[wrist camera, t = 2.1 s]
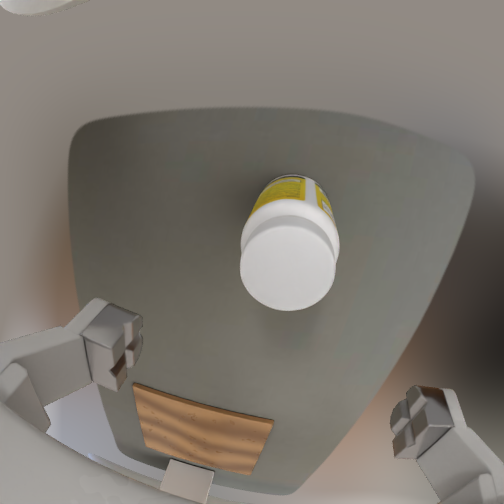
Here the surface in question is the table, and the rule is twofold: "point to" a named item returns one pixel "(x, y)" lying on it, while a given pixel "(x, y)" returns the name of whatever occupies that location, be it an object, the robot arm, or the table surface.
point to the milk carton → (187, 481)
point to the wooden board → (200, 431)
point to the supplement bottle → (290, 245)
